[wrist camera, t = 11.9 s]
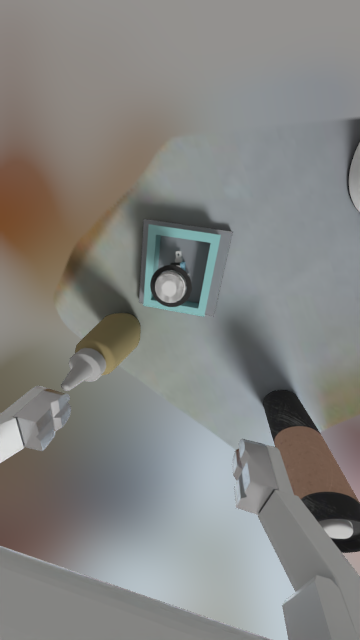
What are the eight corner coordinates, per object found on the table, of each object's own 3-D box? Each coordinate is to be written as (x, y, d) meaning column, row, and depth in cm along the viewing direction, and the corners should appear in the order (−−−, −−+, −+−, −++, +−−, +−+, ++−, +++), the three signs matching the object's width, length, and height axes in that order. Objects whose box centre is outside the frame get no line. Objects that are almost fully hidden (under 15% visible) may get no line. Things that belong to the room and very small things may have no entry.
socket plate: (232, 232, 30) (235, 230, 26) (213, 314, 35) (213, 323, 31) (146, 219, 31) (136, 216, 27) (141, 301, 36) (132, 308, 32)
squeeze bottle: (119, 299, 37) (45, 344, 20) (153, 323, 38) (109, 385, 21) (102, 328, 40) (26, 388, 23) (134, 350, 41) (82, 422, 24)
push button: (164, 251, 31) (144, 254, 22) (196, 250, 30) (190, 253, 21) (166, 291, 33) (150, 309, 24) (196, 291, 33) (191, 309, 24)
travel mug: (258, 413, 42) (295, 543, 24) (266, 386, 39) (316, 511, 21) (294, 419, 41) (361, 559, 23) (305, 392, 38) (393, 528, 20)
